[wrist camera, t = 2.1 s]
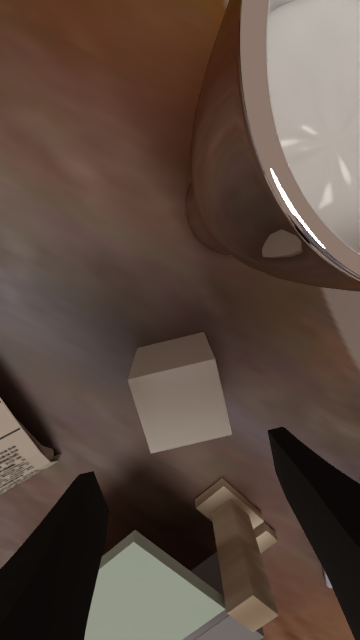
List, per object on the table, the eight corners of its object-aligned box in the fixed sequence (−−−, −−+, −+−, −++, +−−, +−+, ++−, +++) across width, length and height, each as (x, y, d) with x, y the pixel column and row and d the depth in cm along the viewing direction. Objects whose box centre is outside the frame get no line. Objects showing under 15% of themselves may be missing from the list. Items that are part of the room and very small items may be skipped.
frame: (279, 528, 24) (323, 640, 18) (123, 642, 27) (107, 777, 20) (221, 478, 23) (244, 578, 16) (62, 604, 26) (23, 737, 19)
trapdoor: (250, 567, 22) (268, 637, 18) (130, 654, 24) (122, 734, 20) (143, 481, 20) (137, 540, 16) (19, 585, 22) (-14, 661, 18)
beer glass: (222, 283, 19) (396, 405, 4) (155, 195, 17) (87, -51, 3) (309, 214, 18) (880, 87, 4) (246, 115, 17) (798, -808, 2)
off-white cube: (203, 331, 20) (215, 358, 15) (217, 391, 21) (232, 434, 16) (137, 347, 20) (127, 379, 15) (154, 406, 21) (150, 453, 16)
